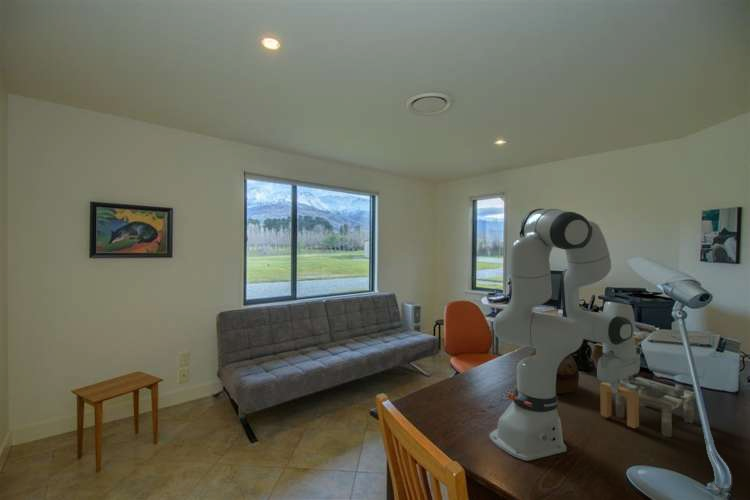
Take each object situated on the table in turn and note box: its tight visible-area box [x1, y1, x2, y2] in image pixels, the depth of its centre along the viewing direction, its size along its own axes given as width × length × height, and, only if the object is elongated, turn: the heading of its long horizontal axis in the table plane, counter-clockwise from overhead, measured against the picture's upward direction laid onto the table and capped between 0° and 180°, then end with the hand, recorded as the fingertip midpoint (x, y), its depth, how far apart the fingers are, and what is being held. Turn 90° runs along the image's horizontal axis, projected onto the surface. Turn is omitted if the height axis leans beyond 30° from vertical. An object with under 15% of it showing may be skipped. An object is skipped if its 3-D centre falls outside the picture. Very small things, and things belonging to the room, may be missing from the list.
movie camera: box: [534, 339, 603, 372], centre depth 166 cm, size 31×18×18 cm, turn 32°
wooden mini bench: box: [599, 381, 640, 429], centre depth 109 cm, size 10×3×11 cm, turn 28°
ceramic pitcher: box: [529, 349, 580, 394], centre depth 138 cm, size 20×20×30 cm
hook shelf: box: [614, 375, 696, 438], centre depth 111 cm, size 18×16×14 cm
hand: (618, 390), depth 109 cm, fingers closed on wooden mini bench, 3 cm apart
